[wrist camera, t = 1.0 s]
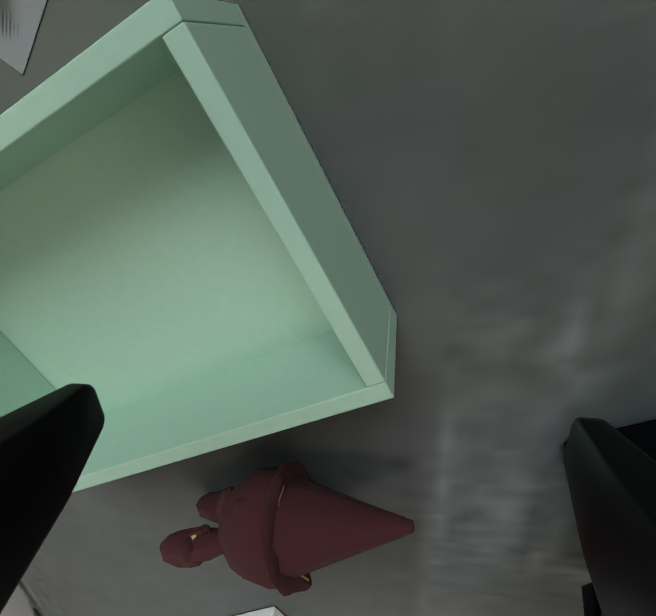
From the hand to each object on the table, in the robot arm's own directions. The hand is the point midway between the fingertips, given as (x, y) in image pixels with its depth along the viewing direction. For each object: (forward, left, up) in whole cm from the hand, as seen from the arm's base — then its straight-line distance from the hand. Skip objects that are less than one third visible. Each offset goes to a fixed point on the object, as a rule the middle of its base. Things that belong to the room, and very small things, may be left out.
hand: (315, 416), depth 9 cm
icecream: (-14, +12, -14) cm, 23 cm away
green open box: (+2, +12, -14) cm, 18 cm away
